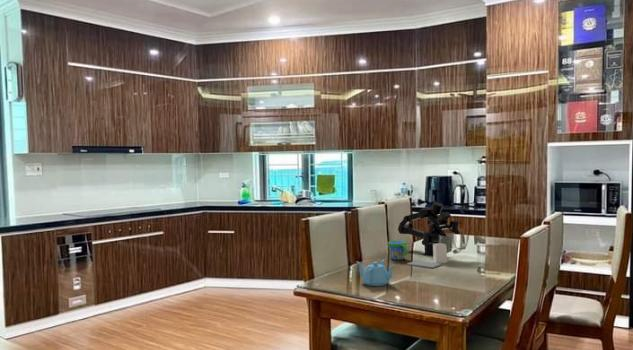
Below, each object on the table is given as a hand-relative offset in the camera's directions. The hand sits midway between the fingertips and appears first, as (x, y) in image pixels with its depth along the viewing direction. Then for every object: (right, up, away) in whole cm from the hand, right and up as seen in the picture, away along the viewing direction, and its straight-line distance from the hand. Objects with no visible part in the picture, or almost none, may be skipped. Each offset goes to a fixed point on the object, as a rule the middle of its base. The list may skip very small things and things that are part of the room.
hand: (452, 234), depth 261 cm
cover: (-8, -15, -2) cm, 17 cm away
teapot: (-49, -18, -43) cm, 67 cm away
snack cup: (-30, -16, +10) cm, 35 cm away
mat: (-18, -16, -8) cm, 25 cm away
